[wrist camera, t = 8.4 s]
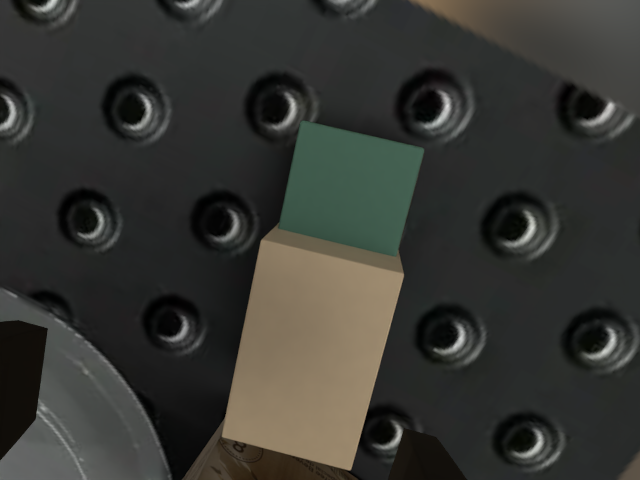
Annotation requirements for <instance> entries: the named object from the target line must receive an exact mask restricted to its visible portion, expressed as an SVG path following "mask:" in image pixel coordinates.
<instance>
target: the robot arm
mask: <svg viewBox="0 0 640 480" xmlns="http://www.w3.org/2000/svg"><path fill="white" fill-rule="evenodd" d="M47 330H48V328H44V327H41V326H37V325H34V324H30V323H26V322H23V321H19V320H17V321H5V322H0V460H1V459H2V458H3V457H4V456H5V454H6V453H7V452H8V451H9V450H10V449H11V448H12V447H13V445H14V444H15V443H16V442H17V441H18V440H19V439H20V437H21V436H22V435H23V434H24V433H25V431H26V430H27V429H28V428H29V427H30V425H31V424H32V423H33V422H34V421H35V419H36V412H37V405H38V397H39V390H40V382H41V375H42V368H43V360H44V353H45V345H46V338H47ZM388 480H467V479H466V478H465V476H464V475H463V473H462V472H461V471H460V469H459V468H458V466H457V465H456V464H455V462H454V461H453V459H452V458H451V456H450V455H449V454H448V452H447V451H446V450H445V448H444V447H443V445H442V444H441V443H440V442H439V440H438V439H437V438H436V437H434V436H430V435H427V434H423V433H420V432H416V431H412V430H409V429H405V428H404V431H403V434H402V438H401V441H400V444H399V447H398V450H397V453H396V456H395V459H394V463H393V466H392V469H391V472H390V475H389V478H388Z"/></svg>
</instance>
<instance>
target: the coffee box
mask: <svg viewBox="0 0 640 480" xmlns="http://www.w3.org/2000/svg"><path fill="white" fill-rule="evenodd" d="M224 420H225V418H224ZM224 420H223V421H222V423H221V424H220V426H219V427H218V429H217V430H216V432H215V433H214V435H213V436H212V437H211V439H210V440H209V442H208V443H207V445H206V446H205V447H204V449H203V450H202V452H201V453H200V455H199V456H198V458H197V459H196V460H195V462H194V463H193V465H192V466H191V468H190V469H189V471H188V472H187V474H186V475H185V477H184V478H183V479H182V480H358V479H357V478H356V477H354V476H353V475H351V474H350V473H348V472H347V471H345V470H344V469H341V468H338V467H334V466H330V465H326V464H322V463H319V462H315V461H311V460H307V459H303V458H300V457H296V456H292V455H288V454H284V453H281V452H277V451H273V450H269V449H265V448H262V447H258V446H254V445H250V444H246V443H243V442H239V441H235V440H231V439H227V438H224V437H222V430H223V425H224Z"/></svg>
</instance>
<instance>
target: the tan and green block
mask: <svg viewBox="0 0 640 480" xmlns="http://www.w3.org/2000/svg"><path fill="white" fill-rule="evenodd" d="M423 157H424V149H423V148H422V147H418V146H414V145H409V144H405V143H401V142H396V141H392V140H387V139H383V138H379V137H374V136H370V135H366V134H361V133H357V132H353V131H348V130H344V129H340V128H335V127H331V126H326V125H322V124H318V123H313V122H309V121H304V120H303V121H301V122H300V125H299V130H298V135H297V140H296V145H295V149H294V154H293V159H292V164H291V168H290V173H289V178H288V183H287V188H286V192H285V197H284V202H283V207H282V212H281V216H280V221H279V223H278V224H277V225H276V226H275V227H274V228H273V229H272V230H271V231H270V232H269V233H268V234H267V235H266V236H265V237H264V238H263V239H262V240H261V242H260V247H259V252H258V257H257V262H256V267H255V272H254V277H253V282H252V287H251V292H250V297H249V302H248V307H247V312H246V317H245V322H244V327H243V331H242V336H241V341H240V346H239V351H238V356H237V361H236V366H235V371H234V376H233V381H232V386H231V391H230V396H229V401H228V406H227V411H226V416H225V420H224V425H223V430H222V437H224V438H227V439H231V440H235V441H239V442H243V443H246V444H250V445H254V446H258V447H262V448H265V449H269V450H273V451H277V452H281V453H284V454H288V455H292V456H296V457H300V458H303V459H307V460H311V461H315V462H319V463H322V464H326V465H330V466H334V467H338V468H341V469H345V470H351V469H352V465H353V461H354V458H355V454H356V450H357V447H358V443H359V439H360V436H361V432H362V428H363V425H364V421H365V417H366V414H367V410H368V406H369V403H370V399H371V395H372V392H373V388H374V384H375V381H376V377H377V373H378V370H379V366H380V362H381V359H382V355H383V351H384V347H385V344H386V340H387V336H388V333H389V329H390V325H391V322H392V318H393V314H394V311H395V307H396V303H397V300H398V296H399V292H400V289H401V285H402V281H403V278H404V272H403V268H402V264H401V260H400V255H399V247H400V244H401V240H402V236H403V232H404V229H405V225H406V221H407V217H408V214H409V210H410V206H411V202H412V199H413V195H414V191H415V187H416V184H417V180H418V176H419V172H420V169H421V165H422V161H423Z"/></svg>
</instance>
